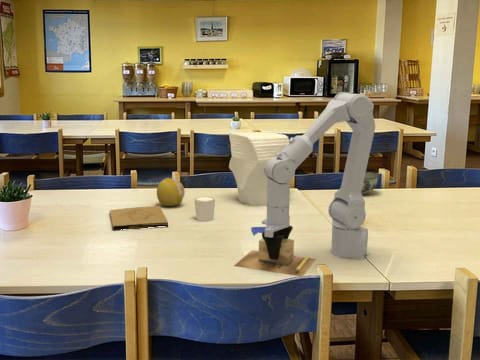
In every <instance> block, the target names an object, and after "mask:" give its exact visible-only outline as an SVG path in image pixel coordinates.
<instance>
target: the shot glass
mask: <svg viewBox="0 0 480 360" xmlns="http://www.w3.org/2000/svg"><path fill="white" fill-rule="evenodd" d="M215 203H216V199H215V197H211V196H198V197H195V198H194V205H195V206H194V208H195V217H196V218H197V219H196V218H195V219H196V220H197V221H199V220H200V221H199V222H209V221H210V222H211V221H213V220H214V216H215V215H214V214H215Z"/></svg>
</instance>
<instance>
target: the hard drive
mask: <svg viewBox="0 0 480 360" xmlns="http://www.w3.org/2000/svg"><path fill="white" fill-rule="evenodd" d="M265 229H266V226H252V227H250V230H251V234H252V235H253V237H255V236H256V235H257V234H259V233H260V234H262V233H263V232H264V231H265Z"/></svg>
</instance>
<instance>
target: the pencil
mask: <svg viewBox="0 0 480 360" xmlns="http://www.w3.org/2000/svg"><path fill="white" fill-rule="evenodd" d="M310 258H311V256H310V255H307V256H305V259H304V260H303V261H302V263H301V264H300V265H299V266H298V267H297V269H296V270H295V273H298V272H299V271H300V270H301V269H302V268H303V266H304V265H305V264H306V263H307V261H308V260H309V259H310Z"/></svg>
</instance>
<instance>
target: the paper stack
mask: <svg viewBox="0 0 480 360" xmlns="http://www.w3.org/2000/svg"><path fill="white" fill-rule="evenodd" d="M228 136H229V137H228V138H229V142H230V152H231V157H230V160H229V165H228V168H229V170H230V171H231V172H232V174H233V176H234V179H235V183H236V187H237V189H236V190H237V192H238V193H237V195H238V201H239V202H241V203H242V204H245V205H250V206H260V205H261V206H262V205H264V206H265V205H266V206H267V182H268V178H267V177H266V175H265V173H264V168H265V167H266V164H267V162H268V161H269V160H270V159H272V158H277V156H276V154H277V153H278V152H279V153H280V152H281V151H282V150H283V149H284V148H285V147H286V146H287V145H288V144H289V143H290V142H289V136H287V135H286V134H282V133H277V132H271V131H252V132H247V131H246V132H229V133H228Z"/></svg>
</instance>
